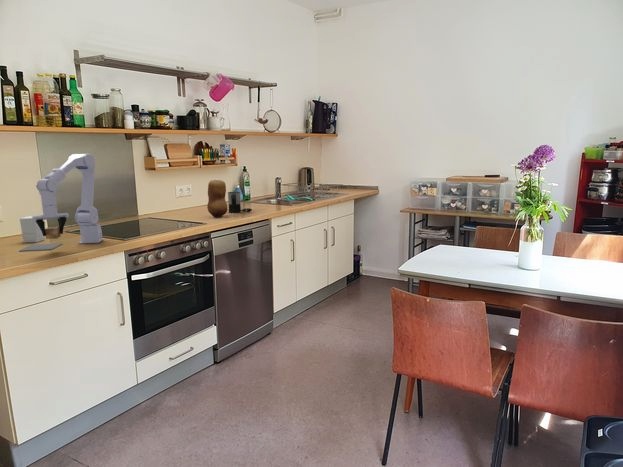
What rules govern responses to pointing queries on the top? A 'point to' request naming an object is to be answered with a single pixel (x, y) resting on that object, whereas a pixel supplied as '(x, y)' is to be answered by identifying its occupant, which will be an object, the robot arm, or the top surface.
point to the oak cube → (52, 232)
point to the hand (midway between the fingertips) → (53, 234)
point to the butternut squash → (217, 198)
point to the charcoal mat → (41, 247)
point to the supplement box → (30, 230)
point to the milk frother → (235, 203)
